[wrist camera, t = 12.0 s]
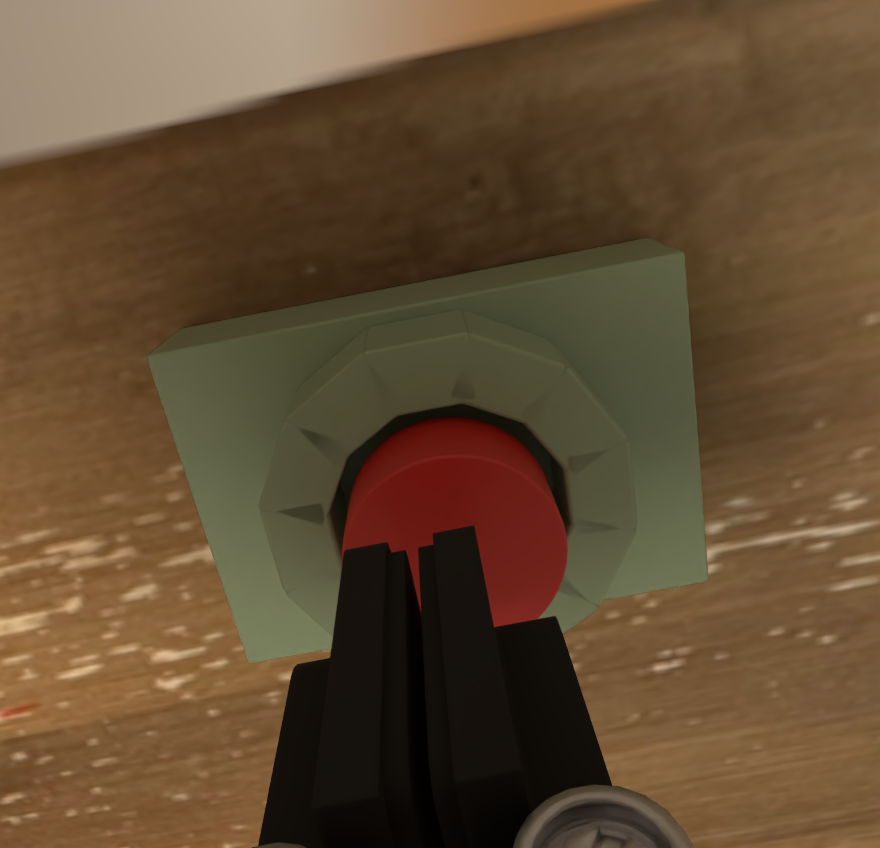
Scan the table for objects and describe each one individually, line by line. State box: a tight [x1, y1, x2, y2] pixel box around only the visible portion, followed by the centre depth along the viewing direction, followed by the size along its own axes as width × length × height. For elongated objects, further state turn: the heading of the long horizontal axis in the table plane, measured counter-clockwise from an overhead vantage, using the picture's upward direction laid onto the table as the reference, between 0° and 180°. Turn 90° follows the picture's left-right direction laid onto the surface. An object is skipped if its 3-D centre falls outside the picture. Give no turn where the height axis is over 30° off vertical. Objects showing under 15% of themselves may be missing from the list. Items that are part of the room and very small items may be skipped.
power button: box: [342, 417, 568, 627], centre depth 13 cm, size 4×4×2 cm
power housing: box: [147, 238, 708, 663], centre depth 15 cm, size 7×10×4 cm
